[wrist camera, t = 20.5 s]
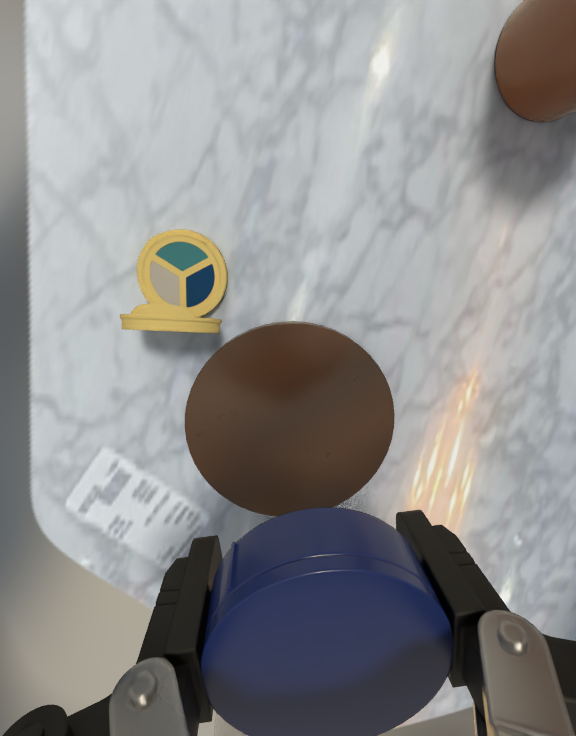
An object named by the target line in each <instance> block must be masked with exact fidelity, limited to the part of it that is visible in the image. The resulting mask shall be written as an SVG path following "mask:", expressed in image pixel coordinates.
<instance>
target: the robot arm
mask: <svg viewBox="0 0 576 736" xmlns="http://www.w3.org/2000/svg"><path fill="white" fill-rule="evenodd" d="M396 530H397V531H398V532H399V533H400V534H401V535H402V536H404V538H405V539H406V540H407V541H408V542H409V544H410V545H411V546H412V548H413V550H414V552H415V553H416V555H417V557H418V559H419V561H420V563H421V565H422V567H423V569H424V571H425V573H426V575H427V577H428V579H429V581H430V583H431V585H432V587H433V589H434V591H435V593H436V595H437V597H438V599H439V601H440V604H441V605H442V607H443V609H444V611H445V613H446V615H447V617H448V619H449V622H450V625H451V628H452V631H453V655H452V665H451V669H450V671H449V674H448V678H449V680H450V682H451V684H452V687H460V686H467V687H468V690H469V692H470V694H471V696H472V698H473V700H474V702H473V714H474V725H475V736H576V641H571V640H566V639H560V638H555V637H550V636H547V635H544V634H541V632H540V631H539V630H538V629H537V628H536V627H535V626H534V625H533V624H532V623H530V622H529V621H528V620H526V619H525V618H523V617H521V616H519V615H517V614H515V613H512V612H511V611H510V610H509V609H508V608H507V606H506V605H505V603H504V602H503V601H502V599H501V598H500V596H499V595H498V594H497V592H496V591H495V589H494V588H493V587H492V585H491V584H490V582H489V581H488V580H487V578H486V577H485V575H484V574H483V573H482V571H481V570H480V568H479V567H478V565H477V564H475V562H474V560H473V558H472V557H471V556H470V554H469V553H468V552H467V551H466V549H465V547H464V546H463V544H462V543H461V542H460V540H459V539H458V537H457V536H456V535H455V534H453V533H452V532H451V531H449V530H448V529H447V528H445V527H444V526H442V525H435V526H432V525H431V524H430V522H429V521H428V519H427V518H426V516H425V515H424V513H423V512H422V511H421V510H414V511H406V512H398V513H397V514H396ZM222 560H223V558H222V553H221V547H220V542H219V538H218V536H217V535H215V536H208V537H200V538H194V539H193V541H192V544H191V548H190V552H189V556H188V557H185V558H177V559H176V560H175V561H174V563H173V564H172V565H171V566H170V568H169V569H168V570H167V572H166V573H165V576H164V579H163V582H162V585H161V588H160V593H159V594H158V598H157V601H156V606H155V607H154V610H153V613H152V616H151V620H150V622H149V626H148V629H147V632H146V635H145V638H144V641H143V644H142V647H141V650H140V654H139V657H138V660H137V662H136V665H134V666H133V667H132V668H131V669H129V670H128V671H127V672H126V673H125V674H124V675H123V676H122V678H121V679H120V680H119V682H118V683H117V685H116V686H115V688H114V690H113V693H112V694H110V695H109V696H108V697H106V698H104V699H103V700H101V701H99V702H97V703H95V704H93V705H91V706H89V707H87V708H85V709H83V710H80V711H78V712H76V713H74V714H72V715H70V716H68V717H67V715H66V713H65V711H64V709H63V708H61V707H59V706H57V705H45V706H41V707H39V708H36V709H34V710H32V711H30V712H29V713H27V714H26V715H24V716H23V717H21V718H20V719H19V720H18V721H17V722H15V723H14V724H13V725H12V726H11V727H10V728H9V729H8V730H7V731H6V732H5V733H4V735H3V736H197V733H198V726H199V723H204V722H210V721H212V714H213V707H212V706H211V705H210V703H209V701H208V698H207V694H206V690H205V686H204V682H203V678H202V674H201V669H200V664H201V655H202V648H203V642H204V635H205V628H206V622H207V615H208V609H209V602H210V595H211V589H212V584H213V580H214V576H215V573H216V571H217V569H218V567H219V565H220V563H221V561H222Z"/></svg>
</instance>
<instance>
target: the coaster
mask: <svg viewBox="0 0 576 736" xmlns="http://www.w3.org/2000/svg"><path fill="white" fill-rule="evenodd" d="M393 429H394V406H393V399H392V395H391V391H390V388H389V386H388V383H387V381H386V378H385V376H384V375H383V373H382V371H381V370H380V368H379V366H378V365H377V364H376V362H375V361H374V360H373V359H372V357H371V356H370V355H369V354H368V353H367V352H366V351H365V350H364V349H363V348H362V347H360V346H359V345H358V344H357V343H355V342H354V341H352V340H351V339H350V338H348V337H347V336H345V335H343V334H341V333H339V332H337V331H335V330H333V329H330V328H327V327H324V326H322V325H317V324H312V323H307V322H295V321H291V322H277V323H271V324H266V325H262V326H259V327H256V328H253V329H250V330H248V331H246V332H244V333H242V334H240V335H238V336H236V337H235V338H233V339H232V340H230V341H228V342H227V343H226V344H224V345H223V346H222V347H221V348H220V349H219V350H217V351H216V352H215V353H214V354H213V355H212V357H211V358H210V359H209V360H208V361H207V362H206V364H205V365H204V367H203V368H202V370H201V371H200V373H199V374H198V376H197V378H196V380H195V382H194V384H193V386H192V388H191V391H190V394H189V397H188V401H187V406H186V412H185V432H186V440H187V443H188V447H189V451H190V454H191V456H192V458H193V460H194V463H195V465H196V466H197V468H198V470H199V471H200V473H201V474H202V476H203V477H204V478H205V479H206V481H207V482H208V483H209V484H210V485H211V486H212V487H213V488H214V489H215V490H216V491H217V492H218V493H219V494H221V495H222V496H223V497H225V498H226V499H228V500H229V501H231V502H233V503H234V504H236V505H238V506H240V507H242V508H245V509H247V510H250V511H253V512H256V513H260V514H264V515H270V516H280V515H283V514H286V513H289V512H293V511H297V510H303V509H310V508H323V507H334V506H336V505H338V504H340V503H342V502H343V501H345V500H347V499H349V498H350V497H351V496H353V495H354V494H355V493H357V492H358V491H359V490H360V489H361V488H362V487H364V486H365V485H366V484H367V483H368V482H369V480H370V479H371V478H372V477H373V476H374V474H375V473H376V472H377V470H378V469H379V467H380V465H381V464H382V462H383V460H384V458H385V456H386V454H387V452H388V449H389V446H390V443H391V440H392V434H393Z"/></svg>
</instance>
